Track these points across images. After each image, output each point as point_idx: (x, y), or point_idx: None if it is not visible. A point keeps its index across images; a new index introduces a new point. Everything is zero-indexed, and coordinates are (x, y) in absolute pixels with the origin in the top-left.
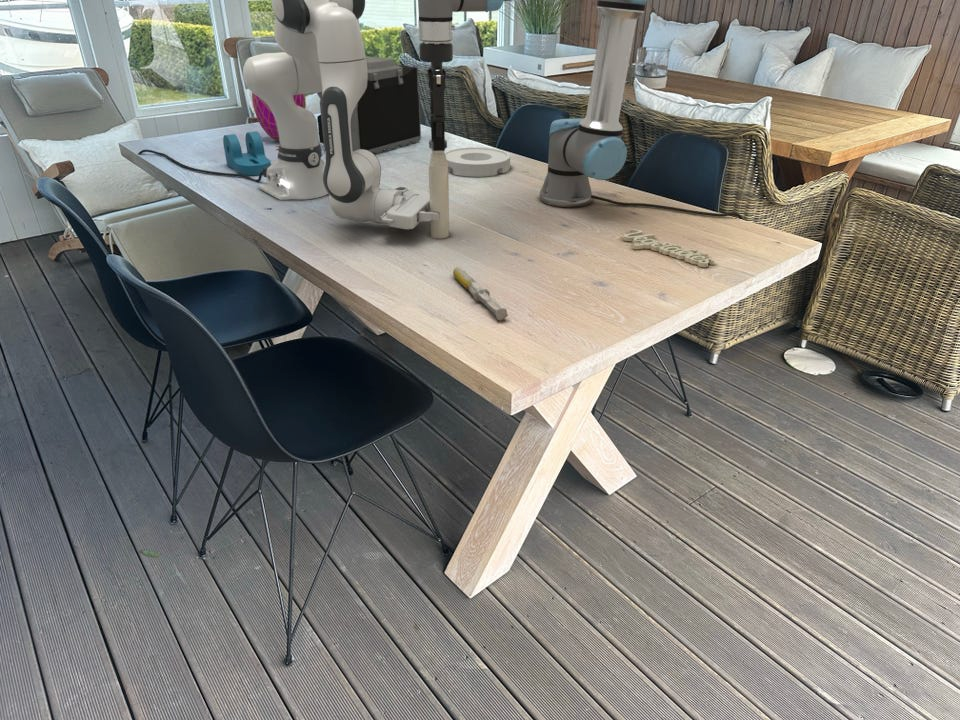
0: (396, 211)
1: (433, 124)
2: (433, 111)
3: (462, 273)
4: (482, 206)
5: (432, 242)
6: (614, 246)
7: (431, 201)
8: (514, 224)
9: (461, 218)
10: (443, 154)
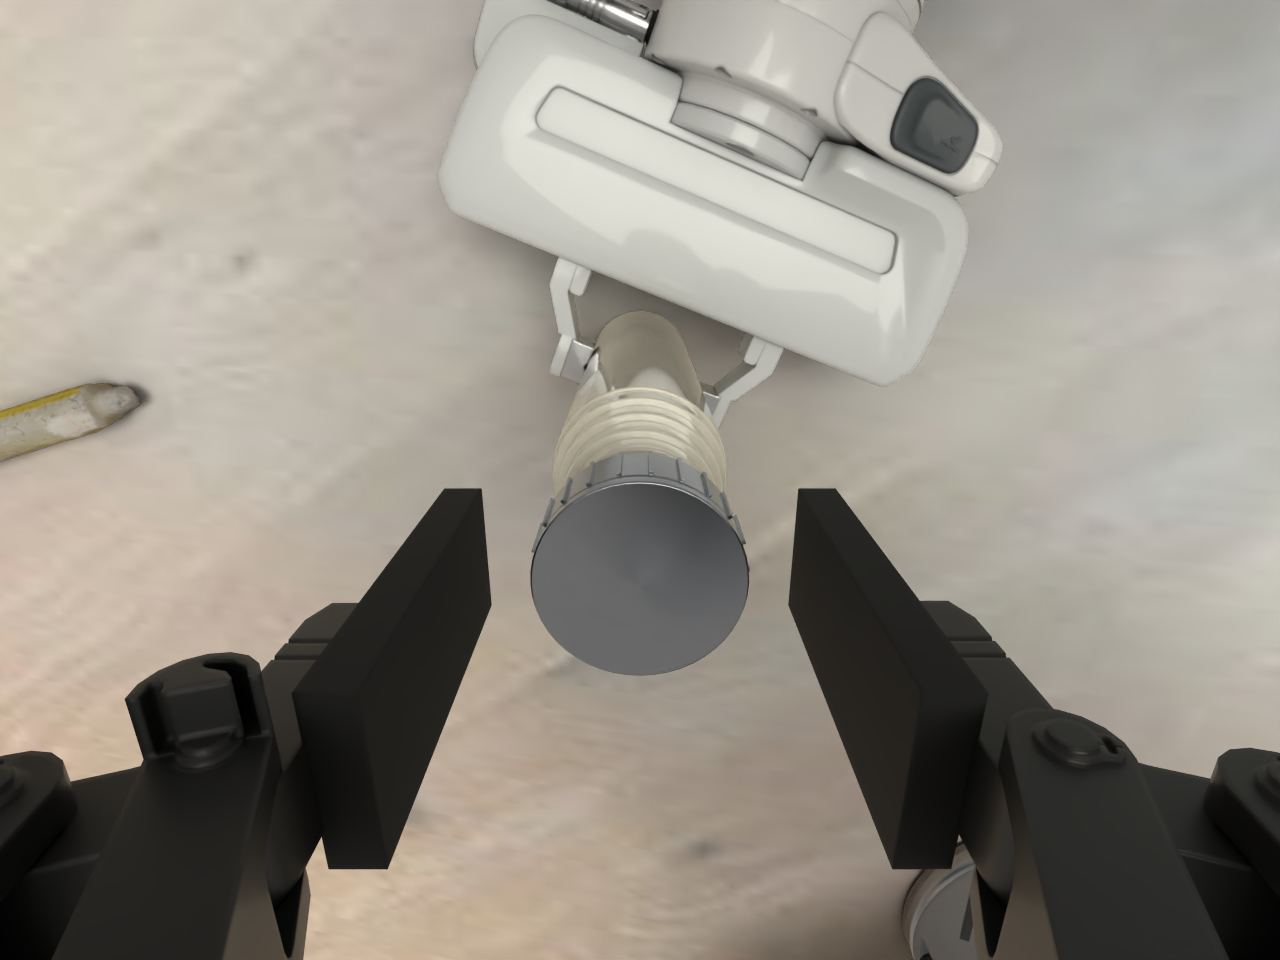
0: (526, 93)
1: (316, 677)
2: (81, 910)
3: (11, 424)
4: (1023, 594)
5: (542, 314)
6: (478, 942)
7: (604, 349)
8: (744, 689)
9: (868, 481)
10: None
